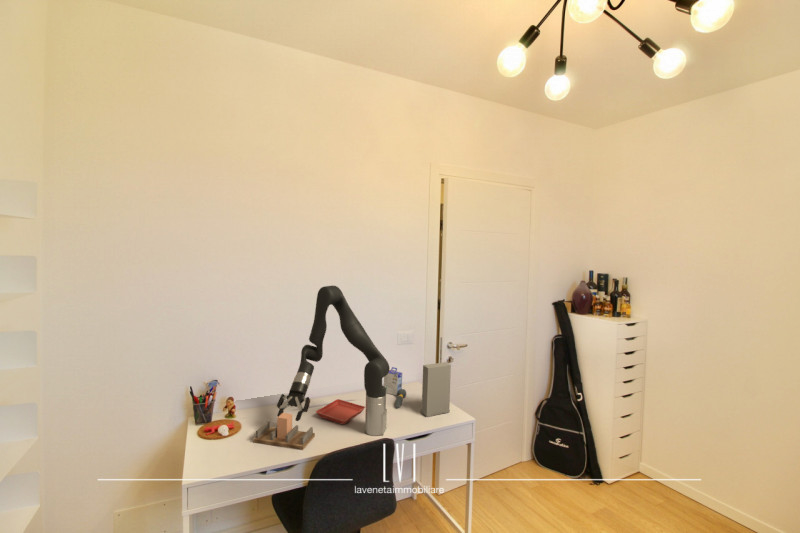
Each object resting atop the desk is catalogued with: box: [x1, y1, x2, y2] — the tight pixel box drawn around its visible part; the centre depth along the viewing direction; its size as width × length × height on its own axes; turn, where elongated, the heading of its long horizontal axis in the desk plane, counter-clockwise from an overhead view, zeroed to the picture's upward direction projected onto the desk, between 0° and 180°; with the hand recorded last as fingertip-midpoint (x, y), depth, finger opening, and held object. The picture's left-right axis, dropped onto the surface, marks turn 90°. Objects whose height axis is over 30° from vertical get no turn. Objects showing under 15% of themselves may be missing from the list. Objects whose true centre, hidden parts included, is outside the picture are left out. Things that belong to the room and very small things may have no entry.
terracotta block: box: [276, 412, 293, 439], centre depth 152 cm, size 4×4×9 cm
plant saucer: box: [315, 398, 366, 425], centre depth 177 cm, size 18×18×3 cm
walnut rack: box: [252, 421, 316, 451], centre depth 152 cm, size 23×11×4 cm, turn 78°
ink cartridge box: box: [383, 366, 403, 397], centre depth 206 cm, size 10×6×14 cm, turn 59°
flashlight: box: [395, 388, 407, 409], centre depth 194 cm, size 20×5×5 cm, turn 175°
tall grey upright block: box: [420, 361, 452, 418], centre depth 182 cm, size 14×6×25 cm, turn 115°
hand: (287, 419), depth 154 cm, fingers open, 8 cm apart
